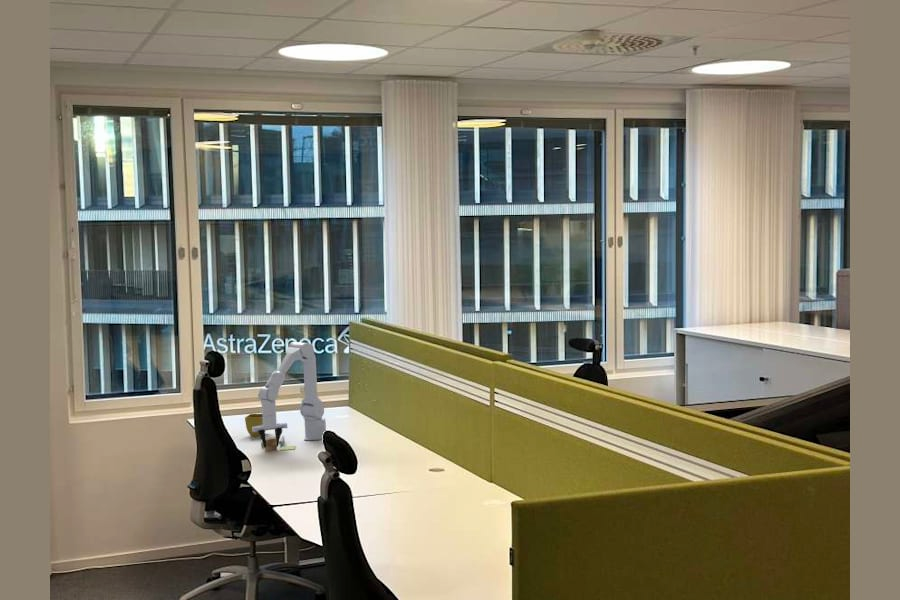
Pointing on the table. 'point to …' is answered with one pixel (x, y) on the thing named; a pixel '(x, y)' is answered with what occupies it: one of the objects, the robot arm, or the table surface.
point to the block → (271, 443)
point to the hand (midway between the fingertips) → (270, 446)
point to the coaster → (287, 448)
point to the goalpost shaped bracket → (278, 443)
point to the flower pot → (253, 423)
